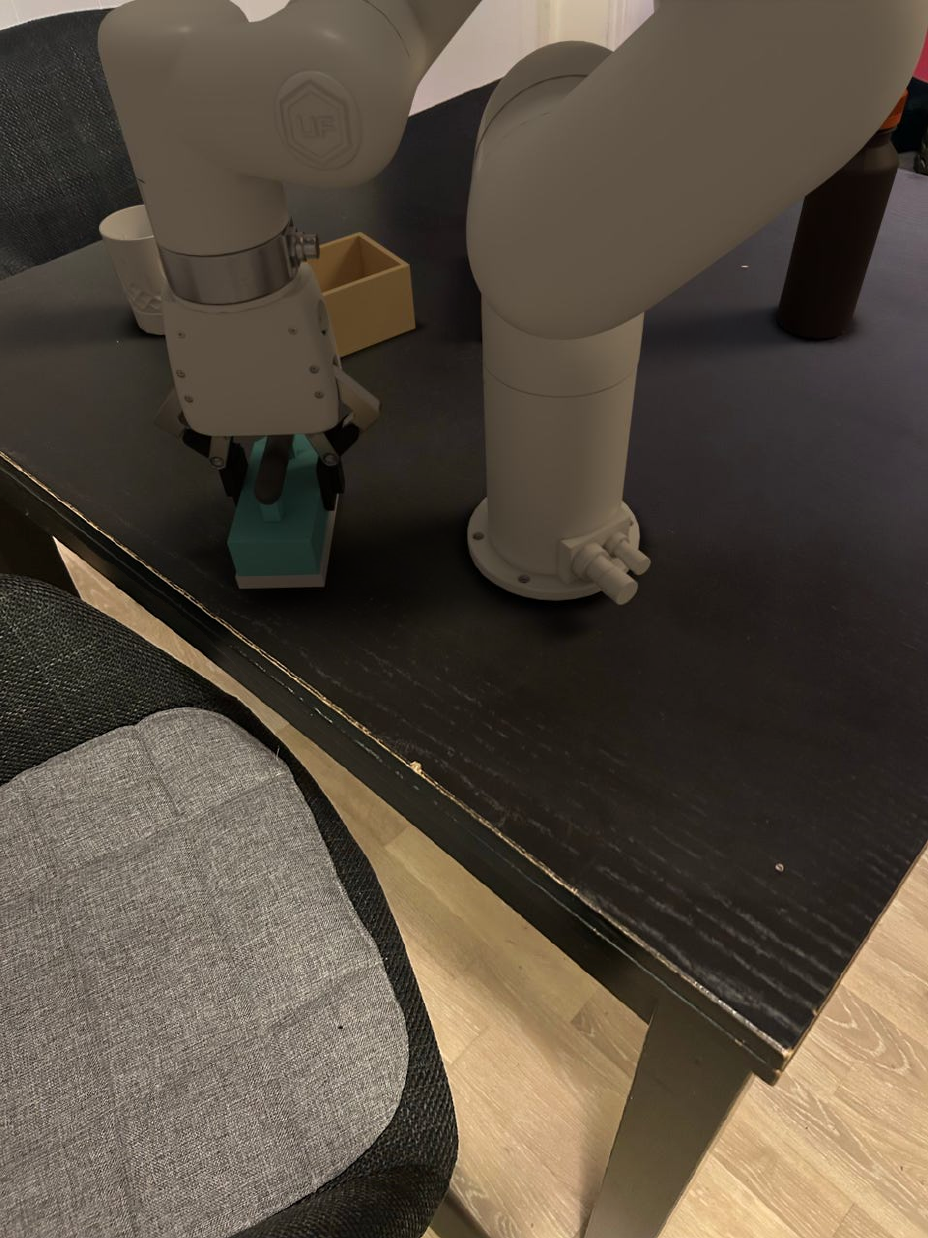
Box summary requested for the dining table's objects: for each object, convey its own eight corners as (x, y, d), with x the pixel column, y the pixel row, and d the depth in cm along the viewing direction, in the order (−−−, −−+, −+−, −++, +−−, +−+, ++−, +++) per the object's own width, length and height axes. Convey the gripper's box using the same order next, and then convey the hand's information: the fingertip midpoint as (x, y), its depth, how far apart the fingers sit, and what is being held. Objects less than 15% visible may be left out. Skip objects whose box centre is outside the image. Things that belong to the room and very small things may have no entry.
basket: (415, 328, 87) (409, 264, 82) (297, 374, 82) (283, 309, 77) (368, 292, 92) (360, 231, 87) (254, 334, 87) (239, 271, 82)
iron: (324, 586, 61) (305, 504, 55) (239, 589, 61) (211, 506, 56) (345, 454, 71) (330, 373, 65) (271, 456, 71) (251, 375, 66)
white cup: (117, 331, 89) (81, 233, 81) (162, 295, 94) (132, 199, 86) (182, 344, 87) (151, 244, 79) (225, 305, 91) (199, 208, 84)
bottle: (784, 299, 87) (838, 71, 72) (855, 311, 85) (926, 79, 70) (768, 332, 83) (822, 98, 68) (842, 346, 81) (915, 108, 66)
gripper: (382, 223, 53) (408, 464, 66) (101, 234, 53) (184, 471, 67) (373, 284, 48) (403, 531, 61) (63, 295, 48) (160, 538, 62)
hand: (288, 497), depth 64 cm, fingers closed on iron, 5 cm apart
